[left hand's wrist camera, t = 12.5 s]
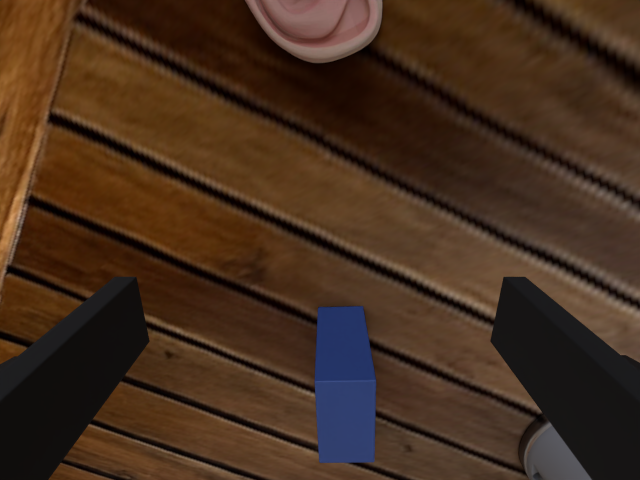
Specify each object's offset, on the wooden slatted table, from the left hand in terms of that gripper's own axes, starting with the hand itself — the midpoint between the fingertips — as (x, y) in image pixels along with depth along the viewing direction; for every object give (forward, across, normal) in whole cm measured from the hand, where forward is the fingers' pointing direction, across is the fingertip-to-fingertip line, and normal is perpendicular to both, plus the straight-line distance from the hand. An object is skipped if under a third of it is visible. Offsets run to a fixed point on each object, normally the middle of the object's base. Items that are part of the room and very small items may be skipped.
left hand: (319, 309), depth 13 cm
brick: (+21, +2, -17) cm, 27 cm away
